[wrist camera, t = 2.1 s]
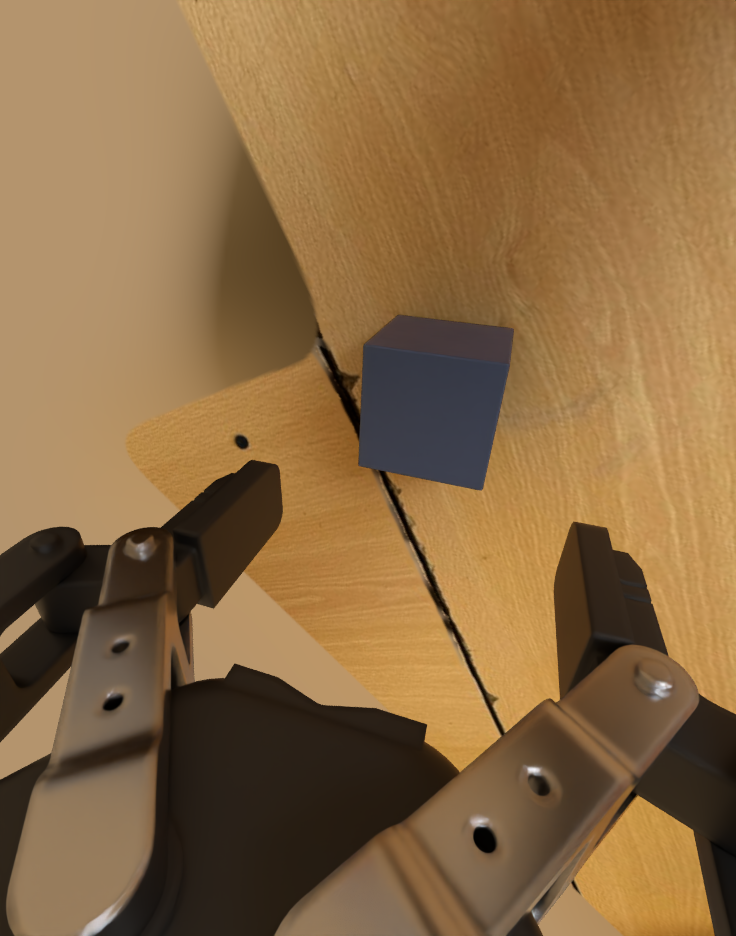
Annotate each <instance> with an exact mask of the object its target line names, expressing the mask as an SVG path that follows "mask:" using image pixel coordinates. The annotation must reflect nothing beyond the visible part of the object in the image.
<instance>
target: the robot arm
mask: <svg viewBox="0 0 736 936" xmlns="http://www.w3.org/2000/svg"><path fill="white" fill-rule="evenodd" d="M282 513H283V505H282V493H281V481H280V470H279V467H278V466H277V465H276V464H272V463H266V462H261V461H256V460H250V461H249V462H248V463H246V464H245V465H244V466H243V467H242V468H241V469H240V470H239V471H237V472H236V473H231V474H229V475H226V476H224V477H222V478H220V479H218V480H216V481H214V482H213V483H212V484H211V485H210V486H209V487H207V488H206V489H205V490H204V493H203V492H202V493H200V494H199V495H198V496H197V497H196V498H195V500H194V501H191V502H190V503H189V504H188V505H186V506H185V507H184V508H183V509H182V510H181V511H179V512H178V513H177V514H176V515H175V516H174V517H172V518H171V519H170V520H169V521H168V522H167V523H166V524H164V525H163V526H162V527H161V528H157V527H147V528H141V529H137V530H134V531H131V532H129V533H126V534H125V535H123V536H121V537H120V538H118V539H117V540H116V541H115V542H114V543H113V544H112V545H84V544H83V541H82V538H81V536H80V533H79V532H78V531H77V530H76V529H74V528H70V527H54V528H49V529H45V530H41V531H38V532H36V533H34V534H32V535H29V536H28V537H26V538H24V539H23V540H21V541H20V542H18V543H17V544H15V545H14V546H13V547H11V548H10V549H8V550H7V551H5V552H4V553H2V554H1V555H0V636H1V634H2V633H3V632H4V630H5V629H6V628H7V627H8V626H10V625H11V624H12V623H13V622H14V621H16V620H17V619H18V618H19V617H20V616H21V615H23V614H24V613H25V612H26V611H27V610H28V609H29V608H30V607H32V606H33V605H34V604H35V605H36V608H37V609H38V612H39V614H40V616H41V618H40V619H39V620H38V621H37V622H35V623H34V624H33V625H32V626H31V627H30V628H29V629H28V630H27V631H25V632H24V633H23V634H22V635H21V636H20V637H19V638H18V639H16V640H15V641H14V642H13V643H12V644H11V645H10V646H9V647H8V648H6V649H5V650H4V651H3V652H2V653H1V654H0V742H1V741H2V740H3V739H4V738H5V737H6V736H7V735H8V734H9V732H10V731H11V730H12V729H13V728H14V727H15V726H16V725H17V724H18V723H19V722H20V721H21V720H22V718H23V717H24V716H25V715H26V714H27V713H28V712H29V711H30V710H31V709H32V708H33V707H34V705H35V704H36V703H37V702H38V701H39V700H40V699H41V698H42V697H43V696H44V695H45V694H46V693H47V692H48V691H49V689H50V688H51V687H52V686H53V685H54V684H55V683H56V682H57V681H58V680H59V679H60V678H61V677H62V676H63V674H64V673H65V672H66V671H67V670H68V669H69V668H70V667H71V670H70V674H69V679H68V683H67V687H66V692H65V696H64V700H63V705H62V709H61V714H60V718H59V722H58V727H57V731H56V735H55V740H54V744H53V749H52V753H50V754H49V755H47V756H45V757H43V758H41V759H39V760H37V761H35V762H33V763H31V764H30V765H28V766H26V767H24V768H22V769H20V770H18V771H16V772H14V773H12V774H10V775H9V776H7V777H5V778H3V779H1V780H0V936H543V935H542V933H541V931H540V928H539V926H538V924H539V923H540V921H541V920H542V919H543V918H544V917H545V915H546V914H547V913H548V911H549V910H550V909H551V907H552V906H553V905H554V904H555V903H556V901H557V900H558V899H559V897H560V896H561V895H562V894H563V892H564V891H565V890H566V888H567V887H568V886H569V884H570V883H571V881H572V880H573V879H574V877H575V876H576V875H577V873H578V872H579V870H580V869H581V868H582V866H583V865H584V863H585V862H586V861H587V860H588V858H589V857H590V856H591V854H592V853H593V852H594V851H595V849H596V848H597V847H598V846H599V844H600V843H601V842H602V840H603V839H604V838H605V837H606V835H607V834H608V833H609V832H610V830H611V829H612V828H613V827H614V825H615V824H616V823H617V822H618V820H619V819H620V818H621V817H622V815H623V814H624V813H625V811H626V810H627V809H628V808H629V806H630V805H631V804H632V803H633V801H634V800H635V799H636V798H637V796H638V795H639V796H640V797H642V798H644V799H645V800H647V801H648V802H650V803H651V804H653V805H655V806H656V807H658V808H659V809H661V810H662V811H664V812H666V813H667V814H669V815H670V816H672V817H674V818H675V819H677V820H678V821H680V822H681V823H683V824H685V825H686V826H688V827H689V828H691V829H693V831H694V836H695V841H696V846H697V851H698V856H699V860H700V865H701V870H702V875H703V880H704V885H705V890H706V895H707V899H708V904H709V909H710V914H711V919H712V924H713V929H714V933H715V936H736V714H734V713H732V712H730V711H728V710H726V709H724V708H722V707H720V706H718V705H716V704H714V703H712V702H711V701H709V700H707V699H706V698H704V697H703V696H701V695H700V694H699V693H698V689H697V687H696V685H695V683H694V681H693V679H692V678H691V676H690V675H689V674H688V673H687V672H686V671H685V669H684V668H682V667H681V666H680V665H679V664H678V663H677V662H675V661H674V660H673V659H671V658H670V657H669V656H668V653H667V649H666V646H665V643H664V640H663V636H662V633H661V630H660V627H659V624H658V620H657V617H656V614H655V611H654V607H653V604H651V598H650V594H649V591H648V590H647V585H646V581H645V578H644V575H643V572H642V569H641V568H640V567H639V566H638V564H637V563H636V562H635V561H634V560H633V559H632V558H631V556H630V555H629V554H628V553H625V552H620V551H615V550H613V549H612V545H611V541H610V537H609V533H608V530H607V528H605V527H600V526H594V525H589V524H584V523H578V522H573V523H572V525H571V527H570V529H569V533H568V536H567V539H566V542H565V545H564V548H563V552H562V555H561V558H560V561H559V564H558V567H557V571H556V576H555V582H554V605H555V622H556V639H557V655H558V672H559V689H560V700H559V701H558V702H556V703H555V702H554V701H553V700H552V699H546V700H544V701H543V702H541V703H540V704H539V705H537V706H536V707H535V708H534V709H533V710H532V711H530V712H529V713H528V714H527V715H526V716H525V717H524V718H522V719H521V720H520V721H519V722H518V723H517V724H515V725H514V726H513V727H512V728H511V729H510V730H509V731H507V732H506V733H505V734H504V735H503V736H502V737H500V738H499V739H498V740H497V741H496V742H495V743H494V744H492V745H491V746H490V747H489V748H488V749H487V750H485V751H484V752H483V753H482V754H481V755H480V756H479V757H477V758H476V759H475V760H474V761H473V762H472V763H470V764H469V765H468V766H467V767H466V768H465V769H464V770H462V771H461V772H459V771H458V770H457V768H456V767H455V766H454V765H453V764H452V763H451V762H450V761H449V760H448V759H447V758H446V757H445V756H443V755H442V754H441V753H440V752H439V751H437V750H436V749H435V748H433V747H432V746H430V745H429V744H427V743H426V742H424V740H425V734H426V728H427V724H424V723H421V722H418V721H414V720H411V719H408V718H405V717H402V716H399V715H395V714H392V713H389V712H386V711H383V710H380V709H377V708H362V707H344V706H326V705H321V704H318V703H316V702H315V701H313V700H312V699H310V698H309V697H307V696H305V695H304V694H302V693H301V692H299V691H298V690H296V689H295V688H293V687H292V686H290V685H289V684H287V683H286V682H284V681H283V680H281V679H280V678H278V677H275V676H272V675H269V674H266V673H263V672H260V671H257V670H253V669H250V668H247V667H244V666H241V665H238V664H234V665H233V667H232V668H231V670H230V671H229V673H228V674H227V676H226V678H218V679H207V680H202V681H196V682H195V680H194V661H193V630H192V616H191V610H192V609H193V608H194V607H195V605H196V604H200V605H203V606H207V607H210V608H215V606H216V605H217V604H218V602H219V601H220V600H221V599H222V597H223V596H224V595H225V594H226V592H227V591H228V590H229V589H230V587H231V586H232V585H233V583H234V582H235V581H236V580H237V579H238V577H239V576H240V575H241V574H242V572H243V571H244V570H245V569H246V567H247V566H248V565H249V564H250V562H251V561H252V560H253V559H254V557H255V556H256V555H257V554H258V552H259V551H260V550H261V549H262V547H263V546H264V545H265V543H266V542H267V541H268V540H269V538H270V537H271V536H272V535H273V533H274V532H275V531H276V530H277V528H278V526H279V524H280V522H281V518H282Z"/></svg>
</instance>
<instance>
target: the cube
mask: <svg viewBox="0 0 736 936" xmlns="http://www.w3.org/2000/svg"><path fill="white" fill-rule="evenodd" d="M513 334H514V329H512V328H504V327H496V326H487V325H479V324H470V323H462V322H454V321H445V320H437V319H428V318H420V317H412V316H403V315H397V316H396V317H395V318H394V319H393V320H392V321H390V322H389V323H388V324H387V325H386V326H385V327H383V328H382V329H381V330H380V331H379V332H378V333H377V334H375V335H374V336H373V337H372V338H371V339H370V340H369V341H367V342H366V343H365V344H364V346H363V368H362V391H361V415H360V438H359V462H358V464H359V466H361V467H366V468H371V469H376V470H381V471H386V472H391V473H396V474H401V475H406V476H411V477H416V478H421V479H426V480H431V481H436V482H441V483H446V484H451V485H456V486H461V487H466V488H471V489H475V490H482V489H483V486H484V481H485V477H486V472H487V468H488V463H489V459H490V454H491V449H492V445H493V440H494V436H495V431H496V426H497V422H498V417H499V413H500V408H501V403H502V399H503V394H504V390H505V385H506V380H507V376H508V371H509V367H510V359H511V351H512V342H513Z"/></svg>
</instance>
